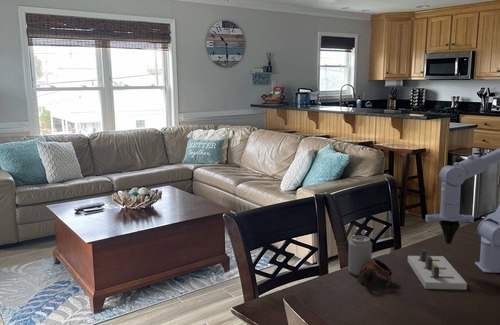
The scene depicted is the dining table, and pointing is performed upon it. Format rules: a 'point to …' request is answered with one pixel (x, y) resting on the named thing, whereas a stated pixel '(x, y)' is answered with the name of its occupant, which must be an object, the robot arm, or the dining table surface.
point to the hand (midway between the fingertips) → (448, 242)
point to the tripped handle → (435, 271)
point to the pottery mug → (369, 272)
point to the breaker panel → (446, 272)
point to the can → (359, 253)
